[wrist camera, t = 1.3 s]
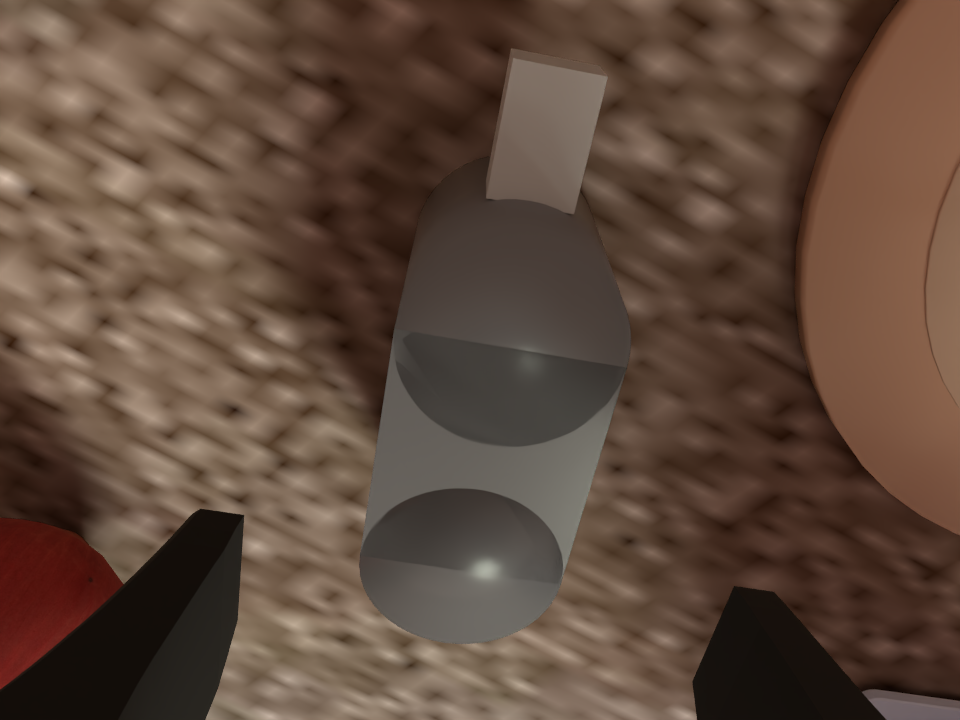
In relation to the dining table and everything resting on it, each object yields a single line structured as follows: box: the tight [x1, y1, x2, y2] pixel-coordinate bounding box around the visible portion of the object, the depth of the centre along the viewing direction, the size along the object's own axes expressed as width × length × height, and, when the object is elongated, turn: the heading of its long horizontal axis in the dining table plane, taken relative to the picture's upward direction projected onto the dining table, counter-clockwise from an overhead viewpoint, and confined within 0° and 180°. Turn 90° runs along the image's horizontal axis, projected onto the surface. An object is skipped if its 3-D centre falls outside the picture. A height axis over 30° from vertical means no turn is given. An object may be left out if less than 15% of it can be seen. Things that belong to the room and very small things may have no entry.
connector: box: [359, 48, 631, 644], centre depth 17 cm, size 11×4×5 cm, turn 170°
